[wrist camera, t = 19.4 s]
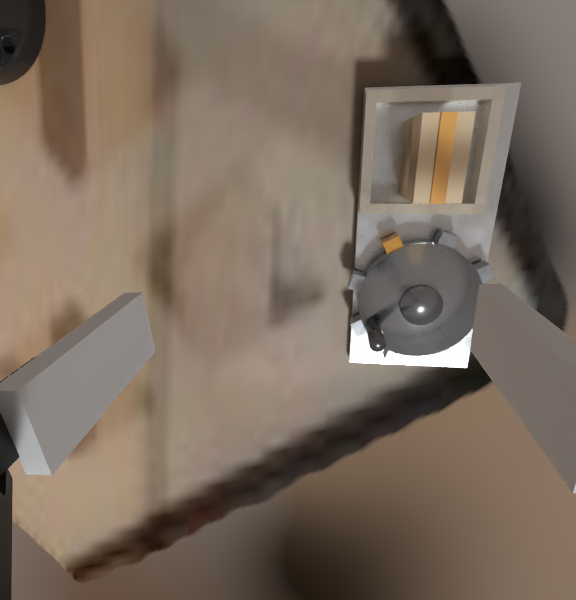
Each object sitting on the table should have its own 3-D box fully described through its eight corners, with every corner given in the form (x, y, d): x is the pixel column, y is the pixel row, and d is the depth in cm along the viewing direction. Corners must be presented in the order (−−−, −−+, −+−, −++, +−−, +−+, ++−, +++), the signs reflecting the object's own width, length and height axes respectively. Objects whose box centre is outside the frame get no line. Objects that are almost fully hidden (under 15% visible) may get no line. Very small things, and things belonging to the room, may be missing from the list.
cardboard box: (406, 120, 36) (423, 112, 29) (449, 119, 35) (476, 110, 29) (399, 195, 38) (413, 203, 32) (439, 195, 38) (462, 203, 31)
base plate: (364, 89, 36) (366, 83, 33) (516, 84, 34) (532, 78, 32) (349, 358, 47) (350, 371, 44) (464, 363, 45) (472, 377, 43)
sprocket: (323, 267, 42) (321, 288, 35) (460, 201, 38) (487, 210, 31) (379, 375, 46) (387, 411, 39) (508, 326, 42) (541, 357, 35)
